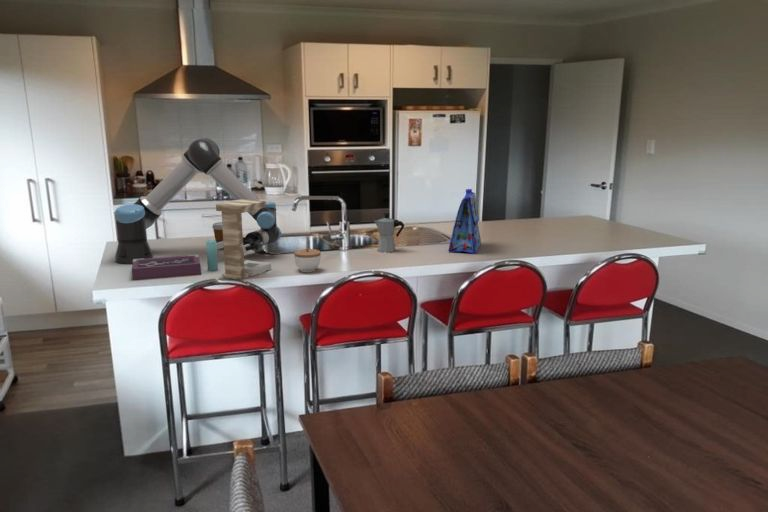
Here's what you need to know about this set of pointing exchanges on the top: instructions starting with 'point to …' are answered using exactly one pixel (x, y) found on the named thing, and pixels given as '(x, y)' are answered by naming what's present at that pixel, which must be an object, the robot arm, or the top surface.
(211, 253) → the peg
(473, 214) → the lunch bag
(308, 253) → the lidded jar
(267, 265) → the socket
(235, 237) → the wooden pedestal
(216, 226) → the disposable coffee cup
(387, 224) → the coffee maker
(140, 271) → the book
